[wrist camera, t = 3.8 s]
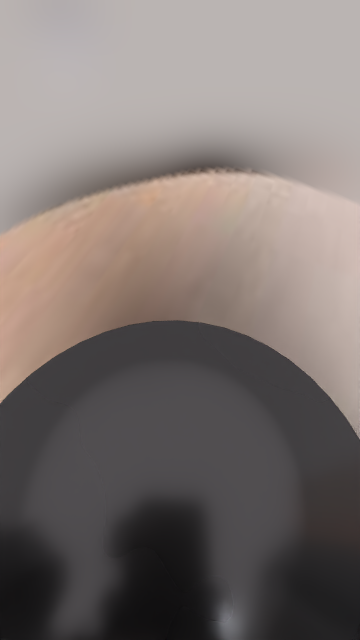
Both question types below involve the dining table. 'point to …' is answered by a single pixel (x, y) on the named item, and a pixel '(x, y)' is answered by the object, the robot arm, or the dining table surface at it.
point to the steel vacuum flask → (177, 494)
